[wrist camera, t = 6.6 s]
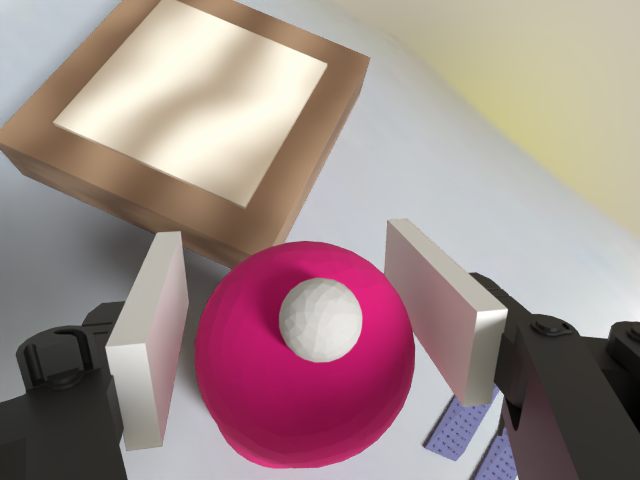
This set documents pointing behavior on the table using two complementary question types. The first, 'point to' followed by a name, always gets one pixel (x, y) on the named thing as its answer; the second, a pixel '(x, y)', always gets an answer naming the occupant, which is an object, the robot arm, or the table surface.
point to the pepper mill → (304, 355)
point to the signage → (458, 431)
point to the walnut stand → (191, 122)
